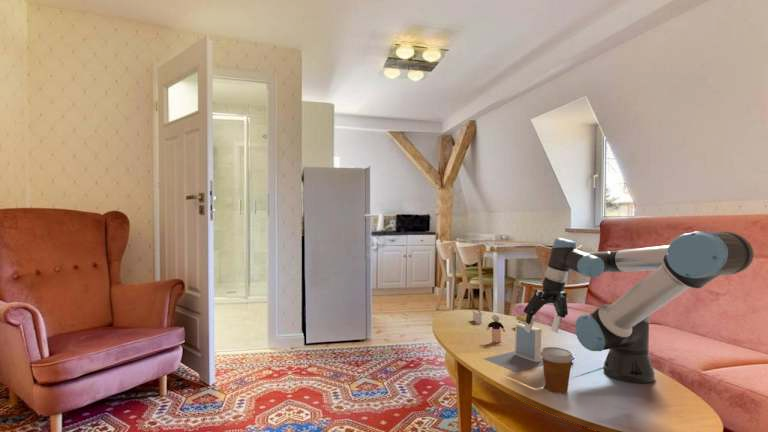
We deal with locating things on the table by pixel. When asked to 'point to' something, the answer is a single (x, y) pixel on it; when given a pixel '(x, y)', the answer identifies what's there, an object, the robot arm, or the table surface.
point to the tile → (528, 343)
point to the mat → (514, 362)
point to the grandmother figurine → (496, 328)
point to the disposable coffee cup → (556, 368)
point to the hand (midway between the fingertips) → (540, 331)
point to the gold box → (521, 319)
